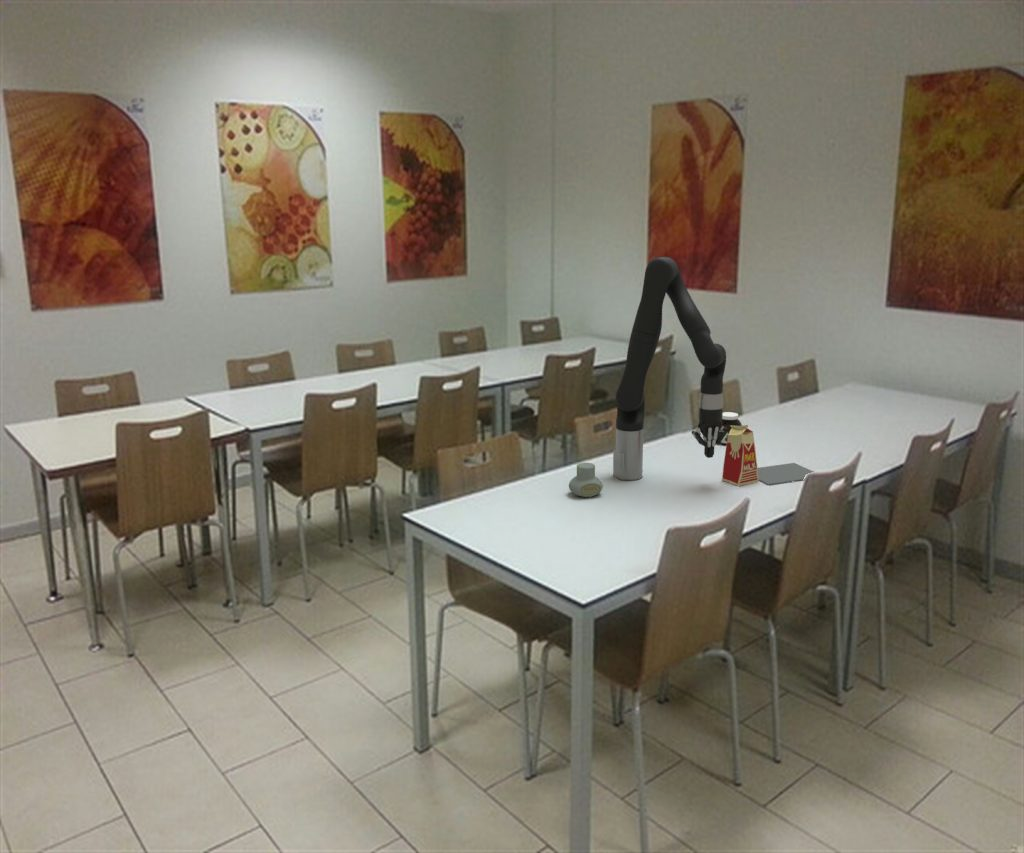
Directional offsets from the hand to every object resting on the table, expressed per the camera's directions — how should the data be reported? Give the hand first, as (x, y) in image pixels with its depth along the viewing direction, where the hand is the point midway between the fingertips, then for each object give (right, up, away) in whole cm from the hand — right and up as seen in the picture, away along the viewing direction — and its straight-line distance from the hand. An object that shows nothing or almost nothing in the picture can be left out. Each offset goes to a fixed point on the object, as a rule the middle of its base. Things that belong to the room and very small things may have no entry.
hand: (709, 456), depth 283 cm
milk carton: (+11, -8, +6) cm, 15 cm away
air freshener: (-41, -12, -4) cm, 43 cm away
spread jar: (+20, +4, +50) cm, 54 cm away
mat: (+28, -6, +12) cm, 30 cm away
